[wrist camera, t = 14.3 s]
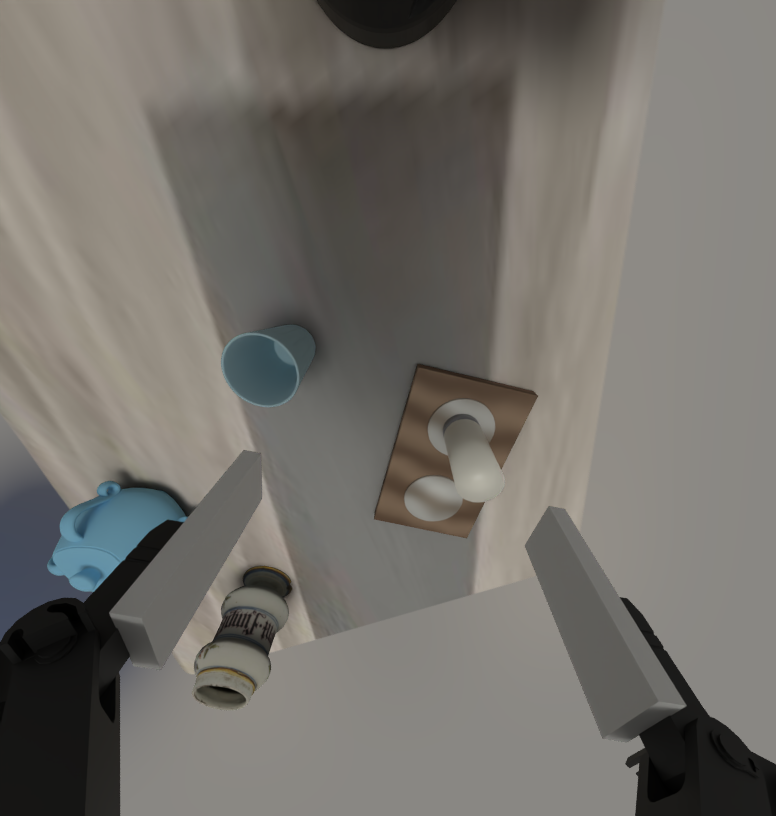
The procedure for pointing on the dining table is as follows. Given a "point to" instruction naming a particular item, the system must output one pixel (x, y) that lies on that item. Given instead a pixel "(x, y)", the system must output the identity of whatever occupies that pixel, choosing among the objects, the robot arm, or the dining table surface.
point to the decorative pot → (108, 531)
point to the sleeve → (472, 460)
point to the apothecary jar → (242, 641)
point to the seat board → (426, 451)
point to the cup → (268, 364)
